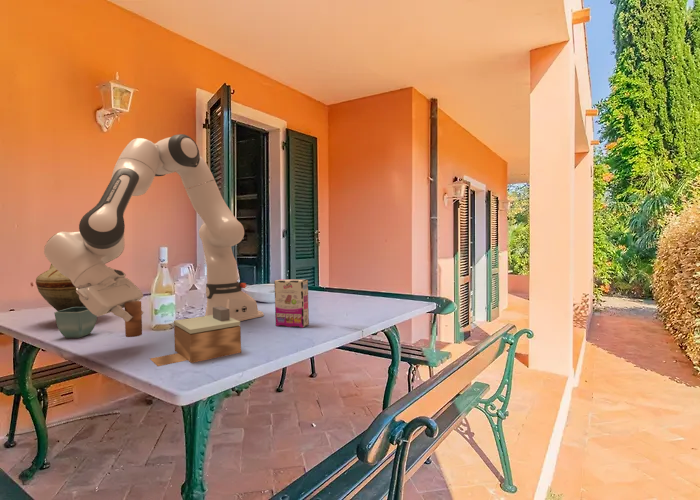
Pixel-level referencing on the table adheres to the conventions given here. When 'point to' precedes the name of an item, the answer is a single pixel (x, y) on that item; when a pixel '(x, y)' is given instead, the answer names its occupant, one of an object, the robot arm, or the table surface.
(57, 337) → the table surface
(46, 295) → the amphora
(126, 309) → the brown wooden cylinder
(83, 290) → the robot arm
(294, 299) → the candy bar box
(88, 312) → the flower pot
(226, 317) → the lid
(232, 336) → the crate
